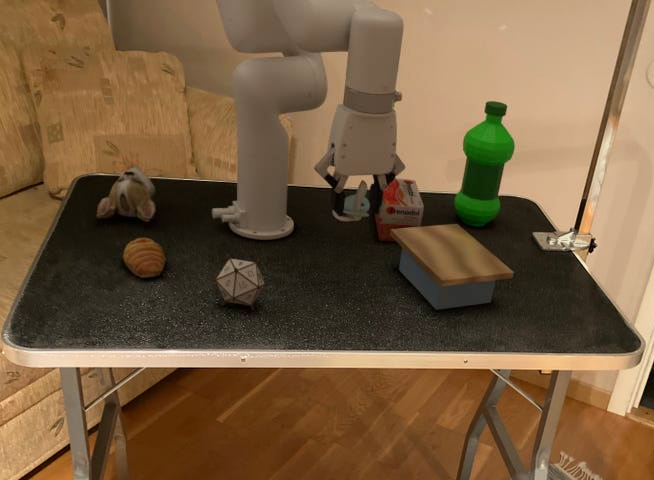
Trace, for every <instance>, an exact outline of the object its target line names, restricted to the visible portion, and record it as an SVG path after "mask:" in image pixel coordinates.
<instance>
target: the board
mask: <svg viewBox="0 0 654 480" xmlns="http://www.w3.org/2000/svg"><path fill="white" fill-rule="evenodd" d="M390 236H391V237H392V238H393V239H394V240H395V242H396V243H397V244H398V245H399V246H400V247H401V249H402V248H403V249H404V250H405V251H406V252H407V253H408V254H409V255H410V256H411V257H412V258H413V259H414V260H415V261H416V262H417V263H418V264H419V265H420V266H421V267H422V268H423V269H424V270H425V271H426V272H427V273H428V274H429V275H430V276H431V277H432V278H433V279H434V280H435V281H436V282H437V283H438V284H439V285H440V286H441V287H443V286H451V285H460V284H468V283H476V282H485V281H493V280H495V281H499V280H500V281H501V280H508V279H513V277H514V273H515V272H514V271H513V270H512V269H510V267H509V266H507V265H506V264H505V263H503V261H501V259H499V258H498V257H497V256H495V254H494V253H492V252H491V251H490V250H488V249H487V248H486V247H485V246H484V245H483V244H482V243H480V242H479V241H478V240H477V239H476V238H475V237H473V236H472V235H471V234H470V233H468V232H467V231H466V230H465V229H464V228H462V226H460V225H459V224H458V223H448V224H435V225H425V226H424V225H423V226H421V227H411V228H399V229H391V231H390Z"/></svg>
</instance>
